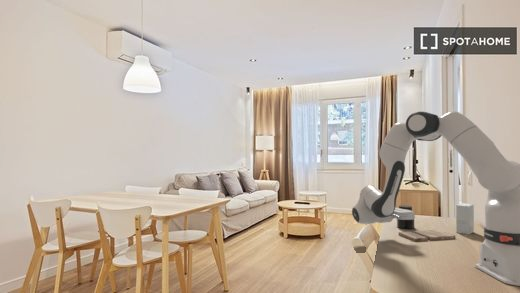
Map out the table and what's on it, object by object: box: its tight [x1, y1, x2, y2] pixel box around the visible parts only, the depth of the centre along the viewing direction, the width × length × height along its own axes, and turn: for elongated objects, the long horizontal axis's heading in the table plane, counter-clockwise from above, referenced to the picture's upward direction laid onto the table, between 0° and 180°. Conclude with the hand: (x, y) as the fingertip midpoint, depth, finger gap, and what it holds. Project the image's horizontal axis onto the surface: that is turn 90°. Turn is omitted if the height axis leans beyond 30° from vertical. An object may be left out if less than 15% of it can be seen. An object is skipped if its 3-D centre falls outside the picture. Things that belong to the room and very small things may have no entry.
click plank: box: [412, 229, 456, 241], centre depth 154 cm, size 2×12×14 cm
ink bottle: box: [396, 204, 415, 230], centre depth 173 cm, size 10×9×12 cm
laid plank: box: [398, 230, 429, 243], centre depth 151 cm, size 7×12×2 cm, turn 12°
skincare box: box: [455, 202, 475, 236], centre depth 161 cm, size 8×6×15 cm
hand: (409, 211), depth 151 cm, fingers closed
